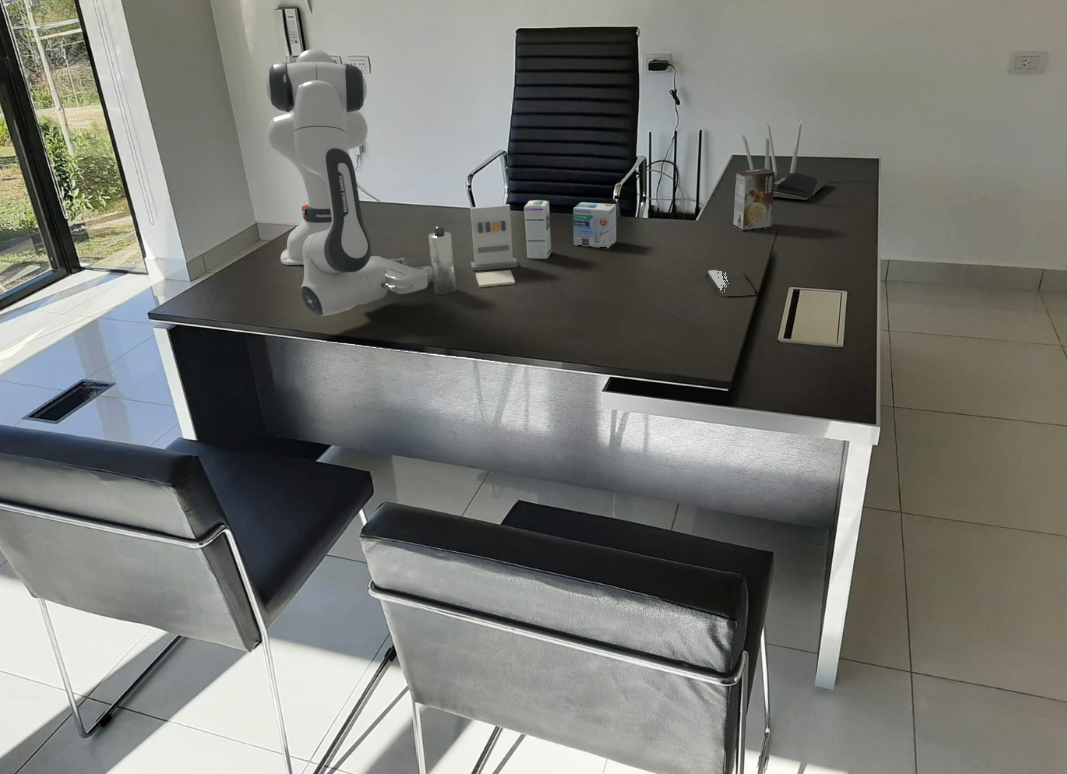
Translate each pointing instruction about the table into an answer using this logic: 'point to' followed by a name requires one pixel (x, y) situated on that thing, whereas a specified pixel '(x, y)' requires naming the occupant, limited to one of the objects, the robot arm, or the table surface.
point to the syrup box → (537, 229)
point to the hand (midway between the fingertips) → (418, 265)
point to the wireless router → (790, 182)
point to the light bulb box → (595, 224)
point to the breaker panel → (492, 238)
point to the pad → (495, 278)
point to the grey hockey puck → (430, 277)
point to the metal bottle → (442, 261)
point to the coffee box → (754, 198)
